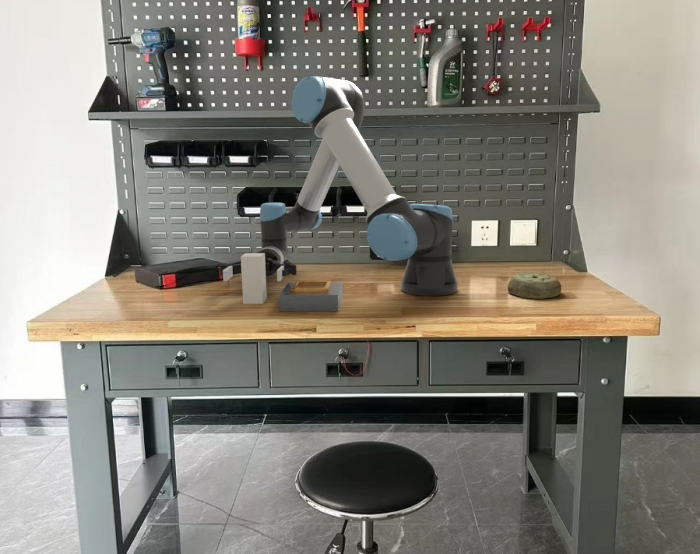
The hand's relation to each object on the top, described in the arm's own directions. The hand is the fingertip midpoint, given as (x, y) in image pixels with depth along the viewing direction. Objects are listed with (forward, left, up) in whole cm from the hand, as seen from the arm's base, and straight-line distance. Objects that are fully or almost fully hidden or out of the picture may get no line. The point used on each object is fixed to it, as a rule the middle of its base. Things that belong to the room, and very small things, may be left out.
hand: (251, 276), depth 149 cm
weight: (-72, -11, -7) cm, 73 cm away
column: (0, -2, -7) cm, 7 cm away
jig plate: (-15, +1, -7) cm, 17 cm away
